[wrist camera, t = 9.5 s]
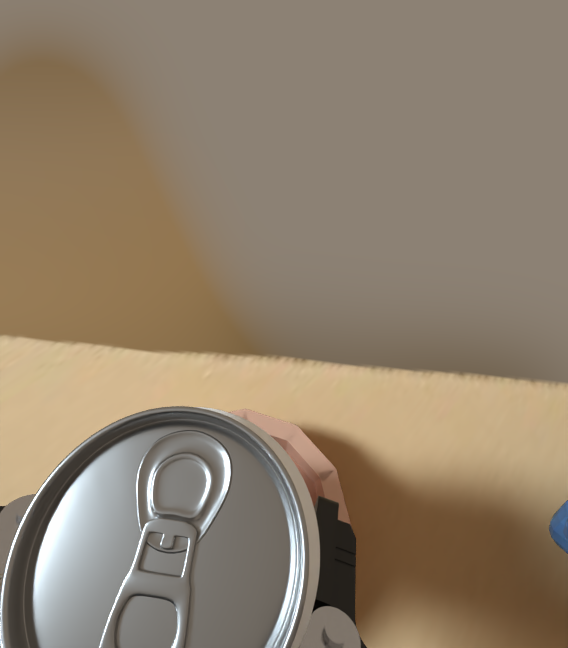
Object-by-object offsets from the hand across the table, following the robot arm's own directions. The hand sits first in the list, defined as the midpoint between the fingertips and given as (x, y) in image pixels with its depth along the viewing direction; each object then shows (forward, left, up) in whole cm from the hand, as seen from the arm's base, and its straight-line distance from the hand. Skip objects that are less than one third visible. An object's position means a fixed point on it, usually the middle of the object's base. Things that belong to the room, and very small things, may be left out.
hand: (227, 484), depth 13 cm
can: (0, +2, -6) cm, 6 cm away
